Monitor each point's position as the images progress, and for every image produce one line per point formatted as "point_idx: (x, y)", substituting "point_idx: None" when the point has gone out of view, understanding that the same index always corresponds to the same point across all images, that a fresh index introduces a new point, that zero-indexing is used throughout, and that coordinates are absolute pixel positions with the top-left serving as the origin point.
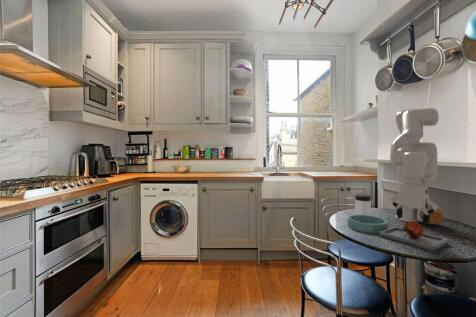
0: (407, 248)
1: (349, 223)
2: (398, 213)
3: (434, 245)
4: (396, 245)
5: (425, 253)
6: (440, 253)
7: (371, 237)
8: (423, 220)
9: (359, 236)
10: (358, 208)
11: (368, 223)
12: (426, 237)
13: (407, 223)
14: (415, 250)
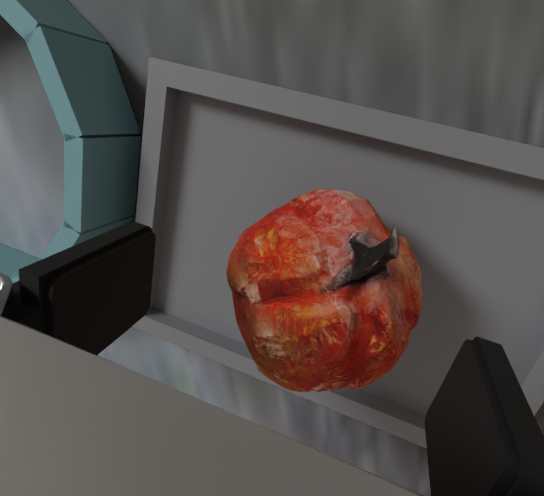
0: (328, 450)
1: None
2: (92, 351)
3: None
4: (268, 427)
5: (429, 489)
6: None
7: (127, 356)
8: (432, 461)
9: None
10: None
11: (13, 280)
12: (447, 173)
13: (257, 365)
14: (372, 463)
